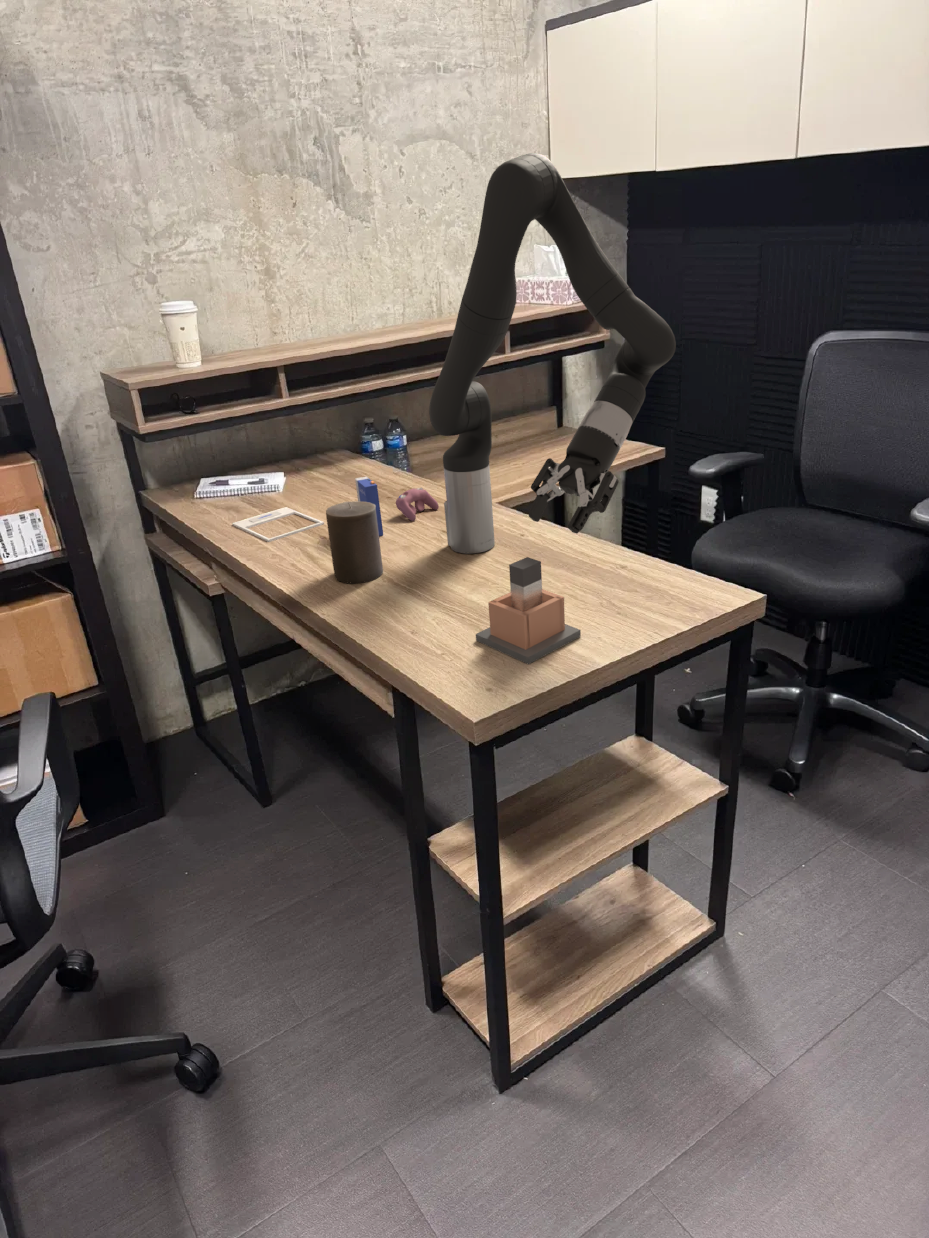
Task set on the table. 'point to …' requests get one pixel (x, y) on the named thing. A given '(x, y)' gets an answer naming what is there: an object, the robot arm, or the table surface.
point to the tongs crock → (527, 628)
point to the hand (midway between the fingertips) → (552, 525)
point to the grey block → (526, 584)
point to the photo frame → (270, 517)
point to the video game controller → (419, 498)
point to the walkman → (369, 497)
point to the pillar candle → (354, 542)
